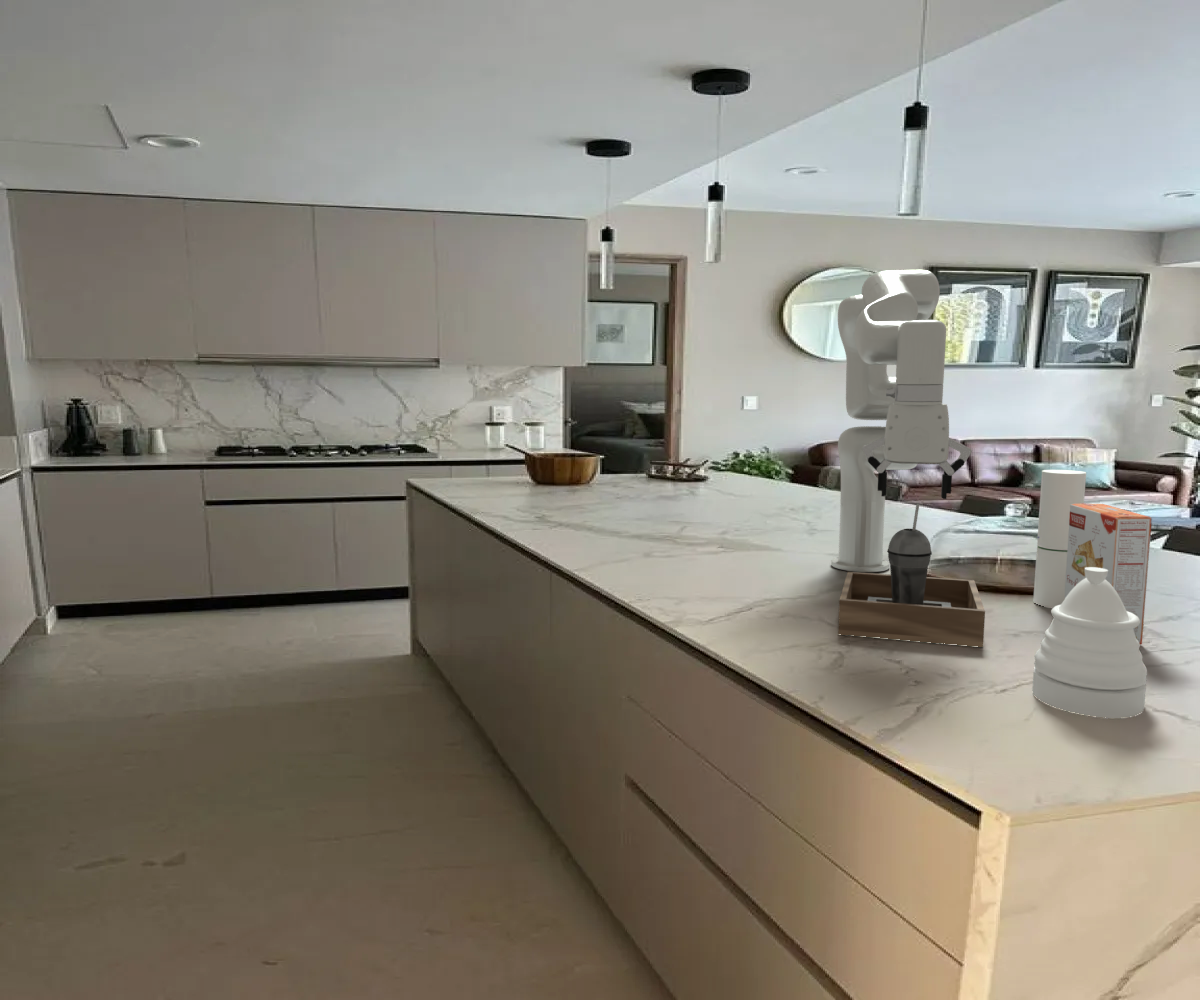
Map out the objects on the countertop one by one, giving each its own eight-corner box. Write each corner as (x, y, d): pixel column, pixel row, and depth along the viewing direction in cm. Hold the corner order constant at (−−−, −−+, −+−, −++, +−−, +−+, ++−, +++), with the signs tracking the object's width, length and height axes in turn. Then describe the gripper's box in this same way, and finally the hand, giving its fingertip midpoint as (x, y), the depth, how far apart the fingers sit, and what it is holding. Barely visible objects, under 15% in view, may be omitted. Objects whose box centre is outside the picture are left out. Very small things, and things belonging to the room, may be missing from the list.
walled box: (846, 602, 161) (847, 571, 161) (972, 612, 154) (974, 580, 153) (838, 635, 141) (839, 600, 140) (982, 648, 134) (985, 611, 133)
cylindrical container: (1072, 600, 162) (1081, 470, 158) (1079, 610, 155) (1090, 474, 151) (1030, 598, 164) (1039, 469, 160) (1036, 607, 157) (1045, 473, 154)
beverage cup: (878, 612, 151) (881, 500, 148) (917, 610, 152) (922, 499, 149) (895, 623, 144) (899, 507, 141) (937, 622, 144) (941, 505, 141)
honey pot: (1144, 726, 103) (1157, 582, 101) (1027, 706, 110) (1036, 570, 108) (1143, 693, 114) (1155, 562, 112) (1036, 676, 121) (1045, 552, 118)
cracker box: (1059, 621, 148) (1068, 502, 145) (1095, 621, 148) (1104, 502, 145) (1104, 646, 134) (1115, 515, 132) (1143, 646, 134) (1154, 515, 131)
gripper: (863, 396, 141) (859, 497, 144) (976, 396, 136) (970, 502, 138) (865, 394, 148) (861, 491, 151) (973, 395, 143) (966, 495, 145)
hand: (913, 496), depth 145 cm, fingers open, 9 cm apart
